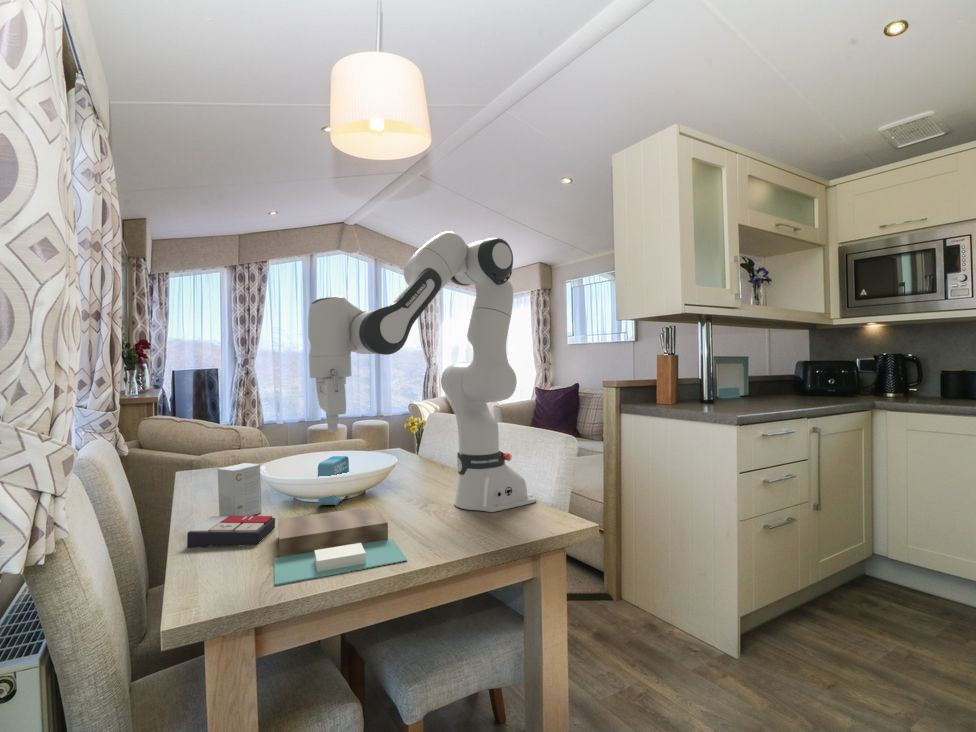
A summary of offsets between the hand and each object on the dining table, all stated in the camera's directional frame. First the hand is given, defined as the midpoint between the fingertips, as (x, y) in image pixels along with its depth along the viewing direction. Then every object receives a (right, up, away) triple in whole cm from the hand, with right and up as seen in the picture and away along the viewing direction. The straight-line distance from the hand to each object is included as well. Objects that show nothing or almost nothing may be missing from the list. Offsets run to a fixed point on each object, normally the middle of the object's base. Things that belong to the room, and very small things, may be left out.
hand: (332, 431), depth 110 cm
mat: (+5, -24, -11) cm, 27 cm away
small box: (-30, -25, +20) cm, 44 cm away
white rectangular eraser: (+5, -23, -13) cm, 27 cm away
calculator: (-24, -25, +3) cm, 35 cm away
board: (0, -24, +1) cm, 24 cm away
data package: (-10, -24, +32) cm, 41 cm away
